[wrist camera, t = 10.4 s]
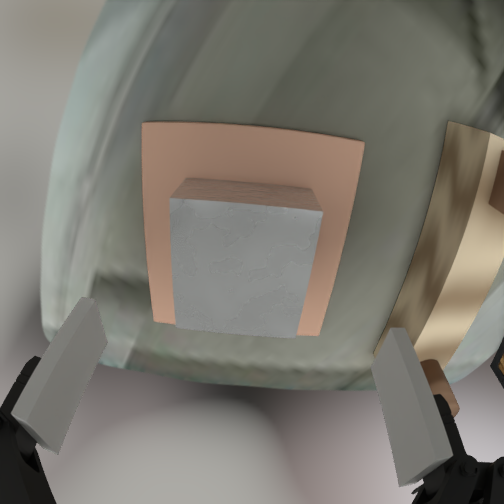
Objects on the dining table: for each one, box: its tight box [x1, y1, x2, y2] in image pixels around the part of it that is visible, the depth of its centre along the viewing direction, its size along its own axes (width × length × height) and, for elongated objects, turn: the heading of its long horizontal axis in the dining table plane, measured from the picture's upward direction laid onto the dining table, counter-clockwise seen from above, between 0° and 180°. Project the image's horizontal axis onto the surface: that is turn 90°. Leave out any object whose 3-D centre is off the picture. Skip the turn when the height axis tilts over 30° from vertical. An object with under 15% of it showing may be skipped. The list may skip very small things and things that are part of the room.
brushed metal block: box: [169, 178, 323, 338], centre depth 20 cm, size 9×8×4 cm
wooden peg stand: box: [373, 121, 504, 417], centre depth 18 cm, size 22×5×10 cm, turn 175°
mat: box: [142, 122, 365, 336], centre depth 22 cm, size 16×14×1 cm
